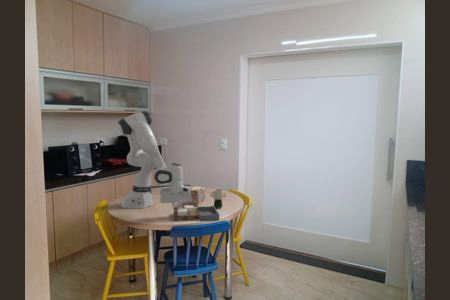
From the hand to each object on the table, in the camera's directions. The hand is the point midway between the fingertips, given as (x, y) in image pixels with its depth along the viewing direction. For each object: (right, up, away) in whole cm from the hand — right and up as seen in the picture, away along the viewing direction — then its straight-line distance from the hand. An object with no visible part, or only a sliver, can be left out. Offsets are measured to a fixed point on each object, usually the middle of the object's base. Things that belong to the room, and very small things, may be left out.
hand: (175, 208), depth 203 cm
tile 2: (+5, -2, -5) cm, 7 cm away
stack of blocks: (+11, -2, +33) cm, 35 cm away
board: (+7, -5, -1) cm, 9 cm away
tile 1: (+8, -1, +3) cm, 9 cm away
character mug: (+27, -3, +20) cm, 34 cm away
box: (+21, -5, +2) cm, 21 cm away
